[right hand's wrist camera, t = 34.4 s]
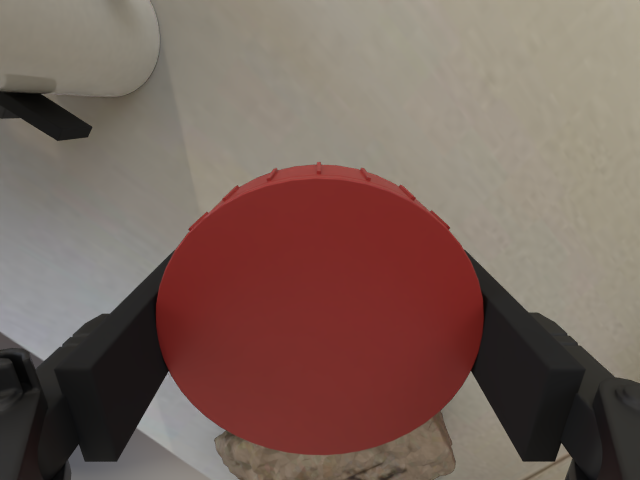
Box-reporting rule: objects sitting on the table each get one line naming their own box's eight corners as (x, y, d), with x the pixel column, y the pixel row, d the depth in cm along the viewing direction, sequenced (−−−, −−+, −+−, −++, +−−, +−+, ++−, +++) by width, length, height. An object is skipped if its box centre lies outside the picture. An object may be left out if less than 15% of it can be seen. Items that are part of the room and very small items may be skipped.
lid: (490, 359, 13) (520, 404, 11) (260, 436, 15) (251, 488, 13) (406, 107, 10) (428, 108, 8) (123, 236, 11) (82, 264, 9)
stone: (291, 535, 38) (286, 595, 32) (217, 425, 37) (198, 466, 31) (457, 437, 38) (484, 480, 32) (386, 323, 37) (400, 345, 31)
